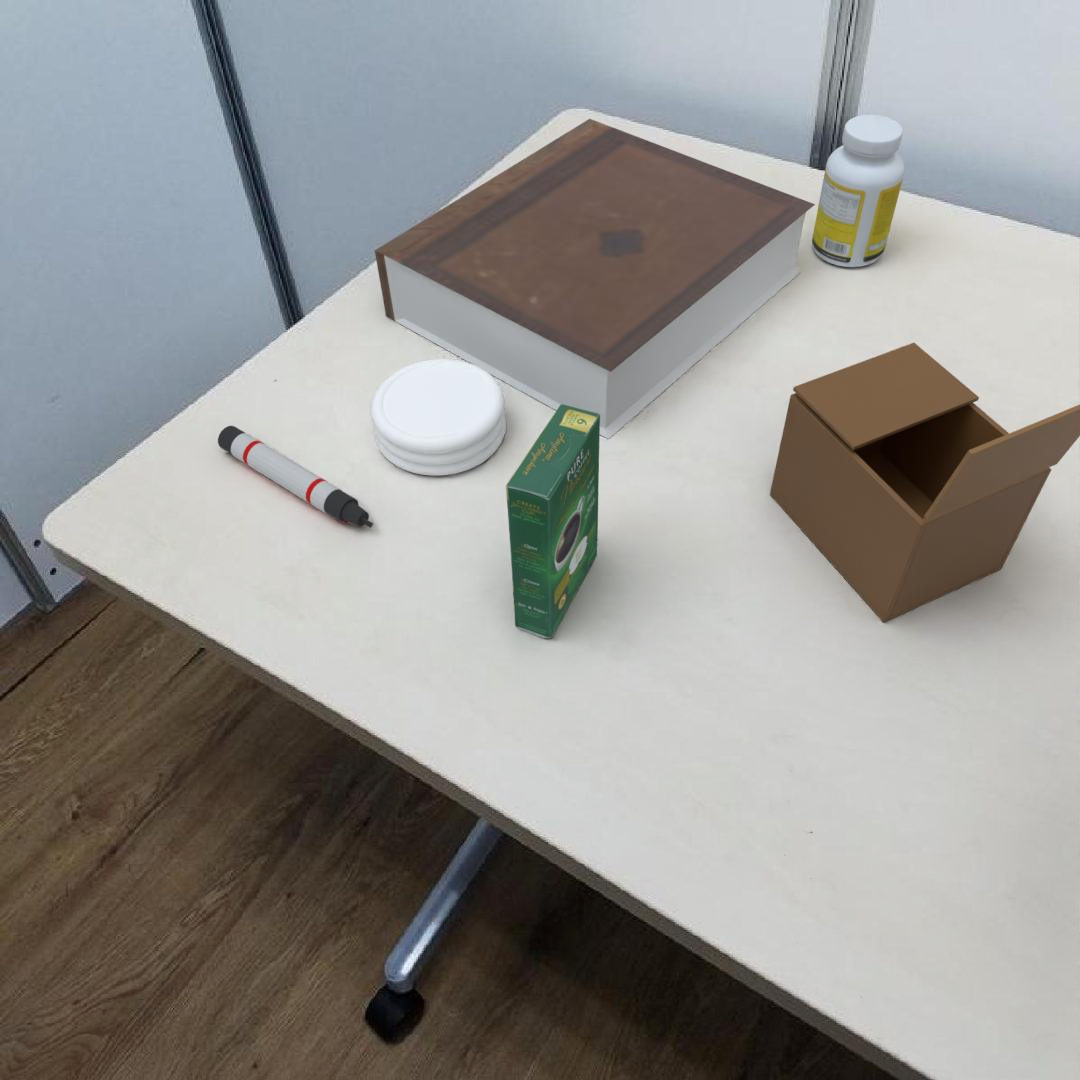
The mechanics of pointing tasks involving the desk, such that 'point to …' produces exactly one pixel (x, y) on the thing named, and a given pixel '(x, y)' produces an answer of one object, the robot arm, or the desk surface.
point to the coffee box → (554, 519)
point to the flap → (1009, 460)
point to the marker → (293, 477)
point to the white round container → (438, 417)
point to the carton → (895, 480)
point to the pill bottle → (859, 192)
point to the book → (594, 269)
